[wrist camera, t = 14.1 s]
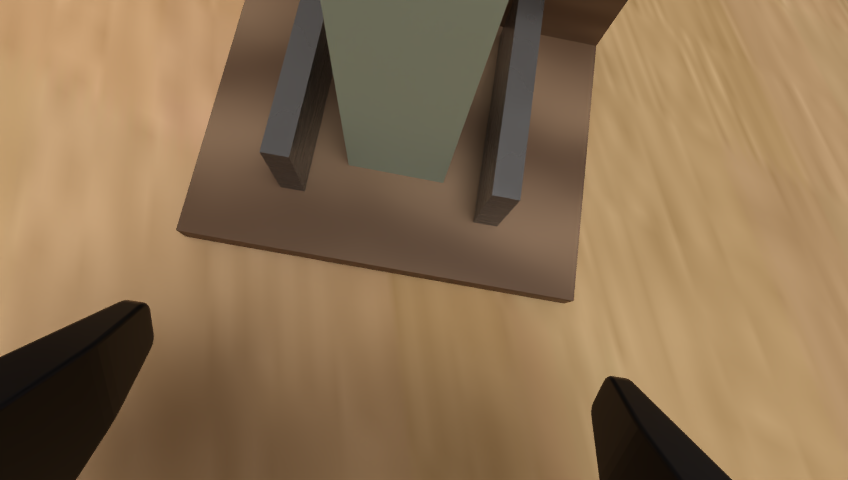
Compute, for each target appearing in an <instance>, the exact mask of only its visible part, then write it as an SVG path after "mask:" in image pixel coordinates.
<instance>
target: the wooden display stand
mask: <svg viewBox="0 0 848 480" xmlns="http://www.w3.org/2000/svg"><path fill="white" fill-rule="evenodd" d="M627 1H628V0H509V1H508V4H507V7H506V9H505V12H504V15H503V18H502V20H501V23H500V26H499V29H498V32H497V34H496V37H495V40H494V43H493V46H492V48H491V51H490V54H489V57H488V59H487V62H486V65H485V68H484V71H483V73H482V76H481V79H480V82H479V85H478V87H477V90H476V93H475V96H474V98H473V101H472V104H471V107H470V110H469V112H468V115H467V118H466V121H465V124H464V126H463V129H462V132H461V135H460V137H459V140H458V143H457V146H456V149H455V151H454V154H453V157H452V160H451V163H450V165H449V168H448V171H447V174H446V176H445V179H444V182H443V183H441V182H435V181H430V180H425V179H419V178H414V177H409V176H404V175H398V174H393V173H388V172H382V171H377V170H372V169H367V168H361V167H356V166H351V165H349V164H348V158H347V152H346V146H345V141H344V135H343V129H342V123H341V117H340V112H339V106H338V100H337V94H336V88H335V83H334V77H333V71H332V65H331V59H330V54H329V48H328V42H327V36H326V30H325V25H324V19H323V13H322V7H321V1H320V0H245V2H244V5H243V9H242V12H241V15H240V19H239V22H238V25H237V29H236V32H235V35H234V39H233V42H232V45H231V49H230V52H229V55H228V59H227V62H226V65H225V69H224V72H223V76H222V79H221V82H220V86H219V89H218V92H217V96H216V99H215V102H214V106H213V109H212V112H211V116H210V119H209V122H208V126H207V129H206V132H205V136H204V139H203V142H202V146H201V149H200V152H199V156H198V159H197V162H196V166H195V169H194V172H193V176H192V179H191V182H190V186H189V189H188V192H187V196H186V199H185V202H184V206H183V209H182V212H181V216H180V219H179V222H178V226H177V229H176V230H177V231H178V232H180V233H182V234H183V235H185V236H187V237H193V238H199V239H204V240H210V241H216V242H221V243H227V244H233V245H238V246H244V247H250V248H255V249H261V250H267V251H272V252H278V253H284V254H289V255H295V256H300V257H306V258H312V259H317V260H323V261H329V262H334V263H340V264H346V265H351V266H357V267H363V268H368V269H374V270H380V271H385V272H391V273H396V274H402V275H408V276H413V277H419V278H425V279H430V280H436V281H442V282H447V283H453V284H459V285H464V286H470V287H476V288H481V289H487V290H493V291H498V292H504V293H509V294H515V295H521V296H526V297H532V298H538V299H543V300H549V301H555V302H560V303H567V302H571V301H573V300H574V289H575V278H576V267H577V255H578V244H579V233H580V221H581V210H582V199H583V187H584V176H585V165H586V154H587V142H588V131H589V120H590V108H591V97H592V86H593V74H594V63H595V52H596V45H597V44H598V42H599V41H600V39H601V38H602V37H603V35H604V34H605V32H606V31H607V29H608V28H609V26H610V25H611V24H612V22H613V21H614V19H615V18H616V16H617V15H618V13H619V12H620V11H621V9H622V8H623V6H624V5H625V3H626V2H627Z"/></svg>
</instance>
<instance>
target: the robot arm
mask: <svg viewBox="0 0 848 480" xmlns="http://www.w3.org/2000/svg"><path fill="white" fill-rule="evenodd" d="M153 340H154V333H153V326H152V320H151V313H150V308H149V306H148V305H147V304H146V303H143V302H137V301H130V300H124V301H121V302H118V303H116V304H114V305H112V306H110V307H107V308H105V309H103V310H101V311H99V312H97V313H94V314H92V315H90V316H88V317H86V318H84V319H81V320H79V321H77V322H75V323H73V324H71V325H68V326H66V327H64V328H62V329H60V330H58V331H55V332H53V333H51V334H49V335H47V336H45V337H42V338H40V339H38V340H36V341H34V342H32V343H29V344H27V345H25V346H23V347H21V348H19V349H16V350H14V351H12V352H10V353H8V354H6V355H3V356H1V357H0V480H76V479H77V477H78V476H79V474H80V473H81V471H82V470H83V468H84V466H85V465H86V463H87V462H88V460H89V459H90V457H91V456H92V454H93V453H94V451H95V449H96V448H97V446H98V445H99V443H100V442H101V440H102V439H103V437H104V436H105V434H106V433H107V431H108V429H109V428H110V426H111V424H112V423H113V421H114V420H115V418H116V416H117V414H118V412H119V410H120V409H121V407H122V405H123V403H124V401H125V399H126V397H127V395H128V393H129V391H130V389H131V387H132V385H133V383H134V381H135V379H136V377H137V375H138V373H139V371H140V369H141V367H142V365H143V363H144V361H145V359H146V357H147V355H148V353H149V351H150V349H151V347H152V344H153ZM591 415H592V424H593V432H594V440H595V448H596V456H597V464H598V472H599V479H600V480H732V479H731V478H730V477H729V476H728V475H727V474H726V473H725V472H724V471H723V470H722V469H721V468H720V467H719V466H718V465H717V464H715V463H714V462H713V461H712V460H711V459H710V458H709V457H708V456H707V455H706V454H705V453H704V452H703V451H702V450H701V449H700V448H699V447H698V446H697V445H696V444H695V443H694V442H693V441H692V440H691V439H690V438H689V437H688V436H687V435H686V434H685V433H684V432H683V431H682V430H681V429H680V428H679V427H678V426H677V425H676V424H675V423H674V422H673V421H672V420H671V419H670V418H669V417H668V416H666V415H665V414H664V413H663V412H662V411H661V410H660V409H659V408H658V407H657V406H656V405H655V404H654V403H653V402H652V401H651V400H650V399H649V398H648V397H647V396H646V395H645V394H644V393H643V392H642V391H641V390H640V389H639V388H638V387H637V386H636V385H635V384H634V383H633V382H632V381H630V380H629V379H626V378H621V377H614V376H609V377H607V378H606V379H605V380H604V382H603V384H602V386H601V388H600V390H599V392H598V394H597V396H596V398H595V400H594V402H593V405H592V410H591Z"/></svg>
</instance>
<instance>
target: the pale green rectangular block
mask: <svg viewBox="0 0 848 480" xmlns="http://www.w3.org/2000/svg"><path fill="white" fill-rule="evenodd" d="M320 1H321V7H322V13H323V19H324V25H325V30H326V36H327V42H328V48H329V54H330V59H331V65H332V71H333V77H334V83H335V88H336V94H337V100H338V106H339V112H340V117H341V123H342V129H343V135H344V141H345V146H346V152H347V158H348V164H349V165H351V166H356V167H361V168H367V169H372V170H377V171H382V172H388V173H393V174H398V175H404V176H409V177H414V178H419V179H425V180H430V181H435V182H441V183H443V182H444V179H445V176H446V174H447V171H448V168H449V165H450V163H451V160H452V157H453V154H454V151H455V149H456V146H457V143H458V140H459V137H460V135H461V132H462V129H463V126H464V124H465V121H466V118H467V115H468V112H469V110H470V107H471V104H472V101H473V98H474V96H475V93H476V90H477V87H478V85H479V82H480V79H481V76H482V73H483V71H484V68H485V65H486V62H487V59H488V57H489V54H490V51H491V48H492V46H493V43H494V40H495V37H496V34H497V32H498V29H499V26H500V23H501V20H502V18H503V15H504V12H505V9H506V7H507V4H508V1H509V0H320Z"/></svg>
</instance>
